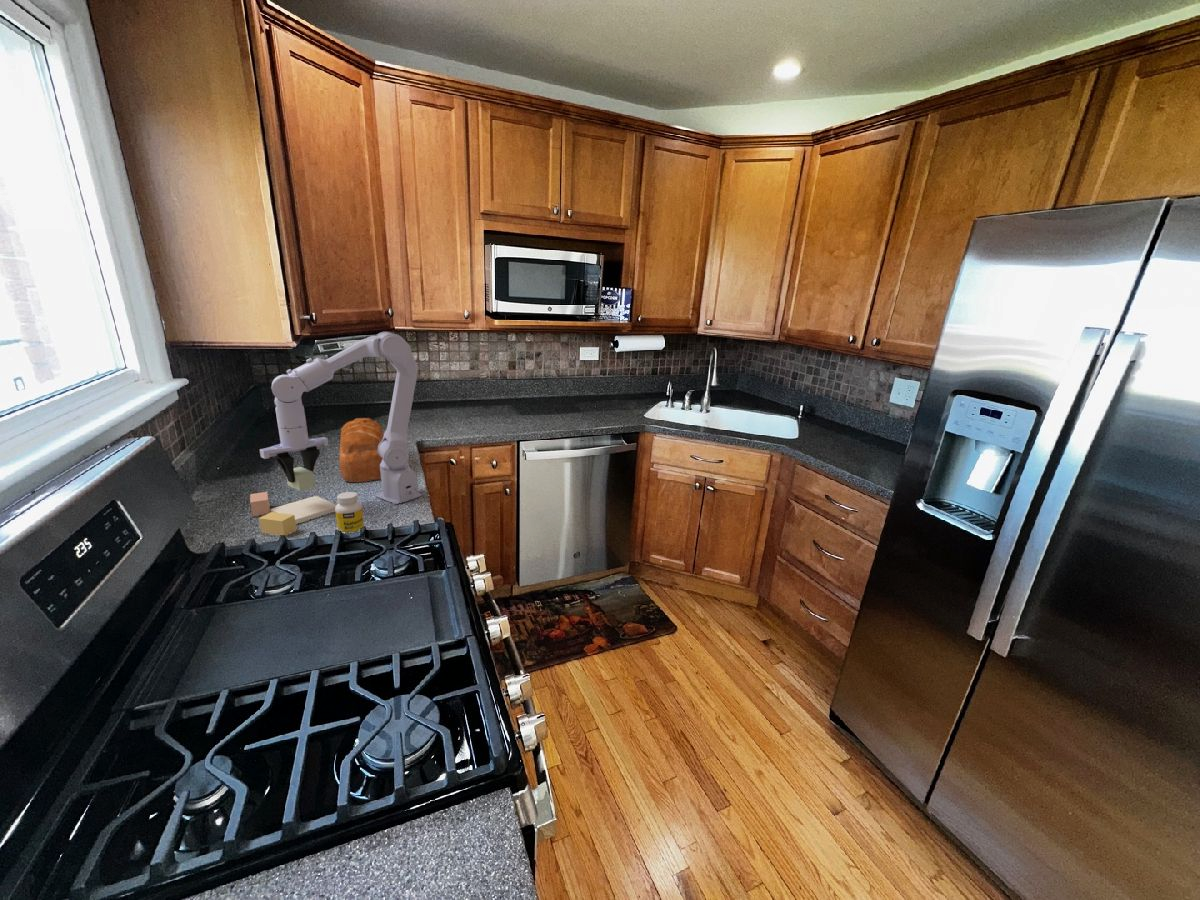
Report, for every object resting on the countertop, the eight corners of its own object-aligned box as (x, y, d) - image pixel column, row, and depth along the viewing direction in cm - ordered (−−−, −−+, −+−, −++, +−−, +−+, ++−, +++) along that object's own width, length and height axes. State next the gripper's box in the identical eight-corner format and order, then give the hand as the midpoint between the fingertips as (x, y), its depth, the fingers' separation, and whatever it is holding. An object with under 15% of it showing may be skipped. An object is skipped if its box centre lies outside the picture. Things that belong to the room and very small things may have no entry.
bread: (387, 455, 165) (383, 411, 161) (392, 479, 143) (388, 430, 139) (342, 459, 159) (336, 414, 155) (340, 485, 137) (334, 434, 132)
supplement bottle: (344, 542, 105) (338, 501, 102) (334, 534, 108) (329, 494, 105) (369, 534, 109) (364, 495, 106) (359, 527, 112) (354, 488, 109)
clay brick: (270, 514, 117) (267, 499, 116) (253, 517, 115) (250, 502, 114) (269, 506, 122) (267, 491, 120) (253, 508, 120) (250, 494, 118)
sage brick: (314, 486, 117) (312, 471, 116) (299, 490, 114) (297, 475, 113) (302, 481, 120) (300, 466, 119) (287, 485, 117) (285, 470, 116)
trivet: (339, 510, 120) (338, 505, 120) (293, 525, 112) (292, 520, 111) (316, 499, 126) (316, 495, 126) (271, 513, 117) (270, 508, 117)
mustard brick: (296, 530, 109) (294, 514, 108) (284, 537, 106) (281, 521, 105) (274, 527, 110) (271, 512, 109) (261, 534, 107) (258, 518, 106)
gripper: (315, 418, 120) (321, 468, 124) (250, 428, 109) (259, 483, 112) (330, 422, 117) (336, 474, 121) (264, 433, 105) (274, 490, 109)
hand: (300, 479), depth 116 cm, fingers closed on sage brick, 3 cm apart
